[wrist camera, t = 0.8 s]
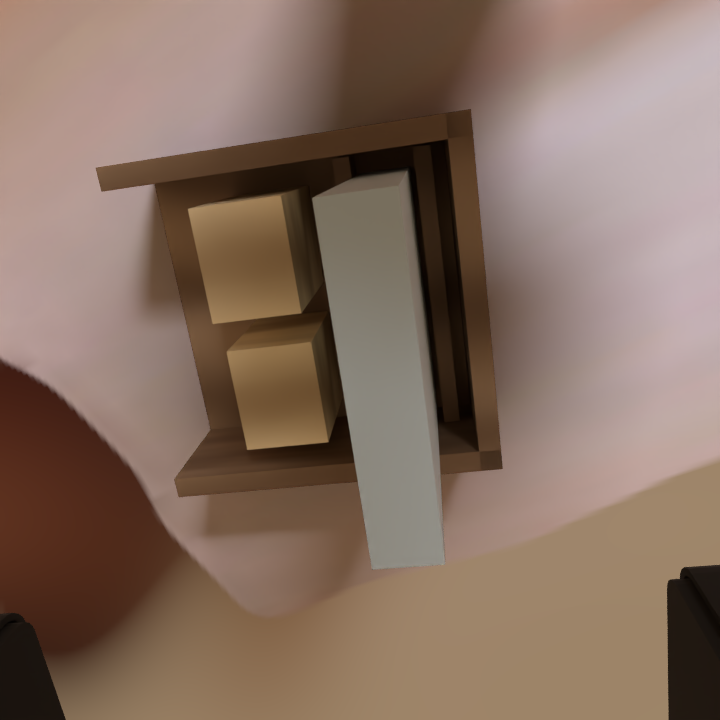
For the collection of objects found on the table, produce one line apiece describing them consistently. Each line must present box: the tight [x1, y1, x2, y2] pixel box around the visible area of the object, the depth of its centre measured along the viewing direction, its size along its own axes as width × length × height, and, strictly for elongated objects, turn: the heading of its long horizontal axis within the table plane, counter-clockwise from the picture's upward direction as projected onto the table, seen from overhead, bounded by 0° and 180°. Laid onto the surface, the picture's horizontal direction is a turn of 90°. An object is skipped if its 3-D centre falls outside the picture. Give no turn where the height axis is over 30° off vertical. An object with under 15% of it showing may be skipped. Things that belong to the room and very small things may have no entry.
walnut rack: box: [96, 109, 503, 497], centre depth 33 cm, size 16×16×7 cm
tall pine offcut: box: [188, 185, 324, 324], centre depth 31 cm, size 5×4×7 cm
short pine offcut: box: [227, 311, 343, 450], centre depth 34 cm, size 5×4×6 cm
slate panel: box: [312, 166, 445, 570], centre depth 27 cm, size 12×2×16 cm, turn 8°
